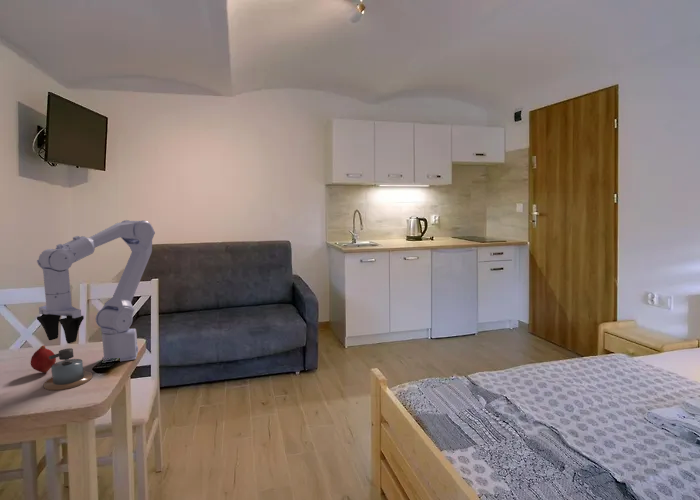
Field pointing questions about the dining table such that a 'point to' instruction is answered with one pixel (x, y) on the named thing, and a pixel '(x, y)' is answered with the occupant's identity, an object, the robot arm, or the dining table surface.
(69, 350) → the pump head
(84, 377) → the dispenser
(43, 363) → the red round fruit
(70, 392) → the dining table surface
